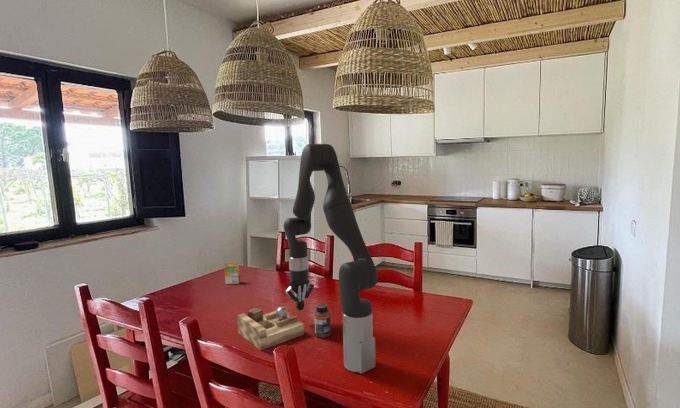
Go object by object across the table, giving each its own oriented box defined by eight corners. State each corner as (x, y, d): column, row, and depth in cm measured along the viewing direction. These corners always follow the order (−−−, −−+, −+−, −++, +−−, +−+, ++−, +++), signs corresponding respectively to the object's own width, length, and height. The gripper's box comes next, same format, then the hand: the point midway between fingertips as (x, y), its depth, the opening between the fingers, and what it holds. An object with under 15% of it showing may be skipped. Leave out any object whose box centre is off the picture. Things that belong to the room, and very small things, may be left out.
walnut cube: (263, 319, 141) (262, 309, 140) (255, 323, 138) (254, 313, 137) (256, 317, 143) (255, 307, 143) (248, 321, 140) (247, 311, 140)
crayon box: (240, 282, 201) (239, 261, 199) (239, 283, 198) (237, 263, 196) (226, 282, 200) (225, 262, 199) (225, 284, 197) (224, 263, 196)
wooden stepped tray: (304, 334, 137) (303, 316, 136) (260, 350, 125) (259, 331, 125) (279, 319, 150) (279, 302, 150) (238, 332, 139) (237, 315, 138)
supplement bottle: (322, 329, 140) (321, 301, 139) (334, 333, 136) (333, 304, 135) (311, 335, 136) (310, 306, 134) (323, 340, 132) (322, 309, 131)
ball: (291, 319, 140) (290, 307, 140) (279, 323, 137) (279, 310, 137) (284, 315, 144) (283, 303, 144) (273, 319, 141) (272, 306, 140)
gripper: (289, 272, 137) (291, 317, 139) (318, 266, 145) (319, 308, 147) (279, 268, 143) (281, 311, 145) (307, 262, 151) (308, 302, 153)
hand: (300, 309), depth 146 cm, fingers closed
